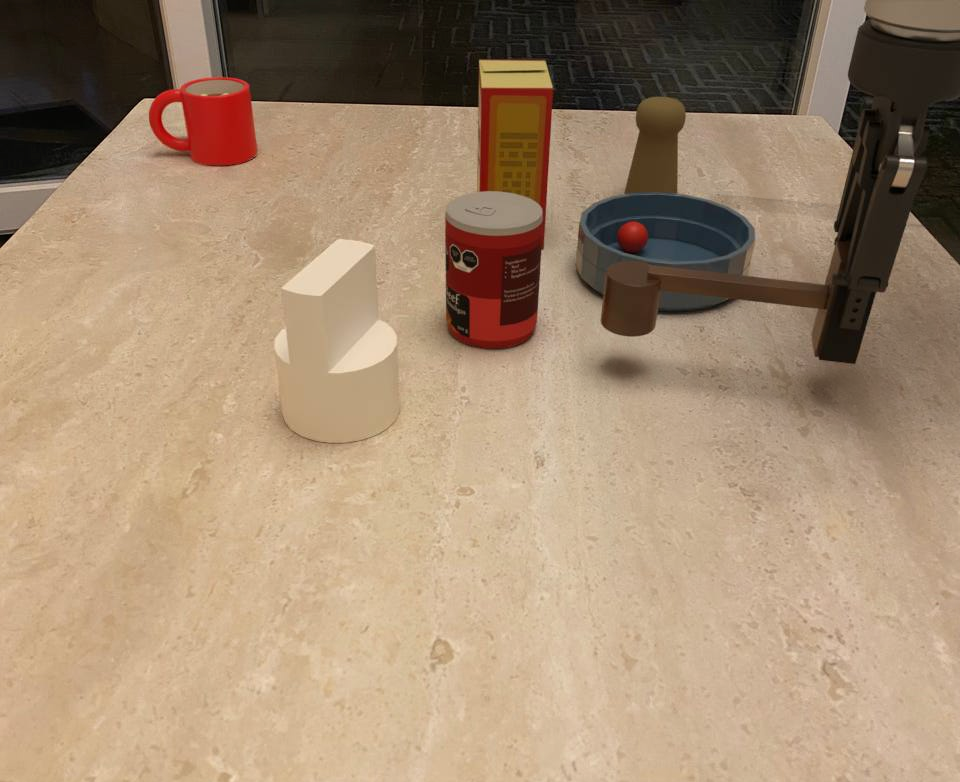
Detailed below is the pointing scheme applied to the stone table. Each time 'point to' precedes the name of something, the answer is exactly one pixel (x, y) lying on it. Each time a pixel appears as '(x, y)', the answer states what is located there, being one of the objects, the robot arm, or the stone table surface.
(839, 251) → the wooden mallet
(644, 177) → the cork
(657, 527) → the stone table surface
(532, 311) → the canned food
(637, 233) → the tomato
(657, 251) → the bowl
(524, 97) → the baking soda box
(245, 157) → the mug
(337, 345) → the base with upright slab
